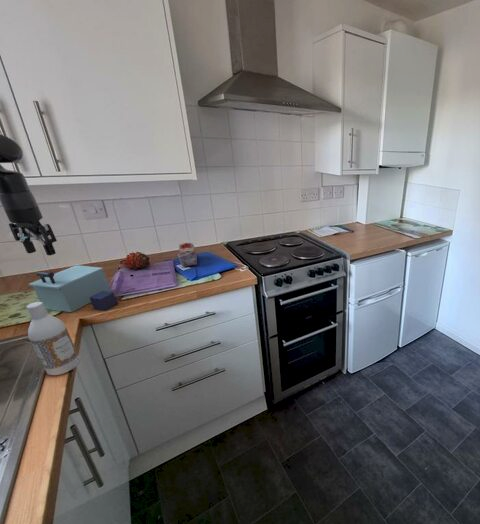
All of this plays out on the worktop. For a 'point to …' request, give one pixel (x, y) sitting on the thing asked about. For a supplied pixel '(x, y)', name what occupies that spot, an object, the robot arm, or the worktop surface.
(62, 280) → the lid
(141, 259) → the dragon fruit
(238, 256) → the worktop surface
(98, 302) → the block
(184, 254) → the food item
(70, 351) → the bath foam
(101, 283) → the light blue storage bin
